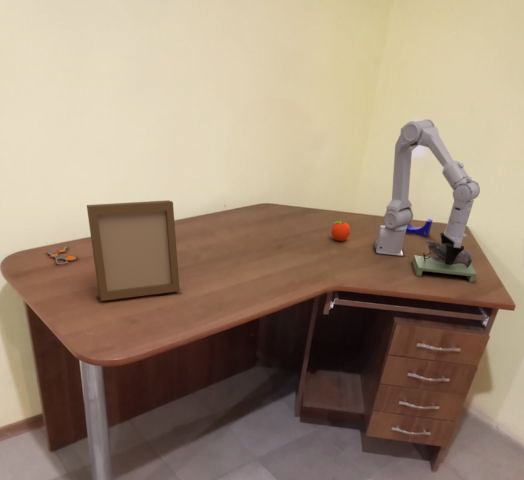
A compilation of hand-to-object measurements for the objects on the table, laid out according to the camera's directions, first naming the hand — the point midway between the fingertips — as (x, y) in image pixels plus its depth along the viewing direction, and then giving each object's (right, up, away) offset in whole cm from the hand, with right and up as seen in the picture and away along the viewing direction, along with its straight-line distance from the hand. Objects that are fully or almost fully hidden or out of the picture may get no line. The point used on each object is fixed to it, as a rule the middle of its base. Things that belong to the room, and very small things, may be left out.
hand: (446, 259), depth 173 cm
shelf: (0, -4, +3) cm, 5 cm away
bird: (0, -2, +1) cm, 2 cm away
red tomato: (-33, +11, +20) cm, 40 cm away
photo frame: (-98, -12, -23) cm, 101 cm away
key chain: (-124, -1, -10) cm, 125 cm away
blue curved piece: (-2, +16, +33) cm, 37 cm away
